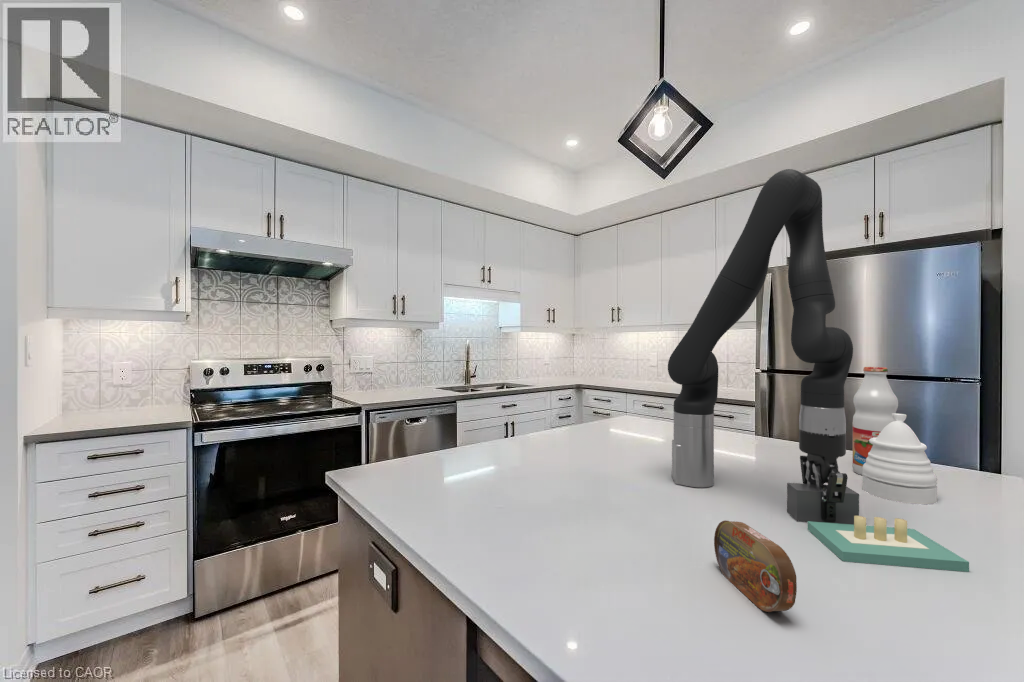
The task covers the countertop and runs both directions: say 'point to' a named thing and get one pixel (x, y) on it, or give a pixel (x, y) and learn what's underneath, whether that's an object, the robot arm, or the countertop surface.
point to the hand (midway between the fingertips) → (821, 515)
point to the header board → (885, 545)
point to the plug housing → (819, 504)
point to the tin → (755, 566)
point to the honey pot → (899, 466)
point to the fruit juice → (871, 412)
